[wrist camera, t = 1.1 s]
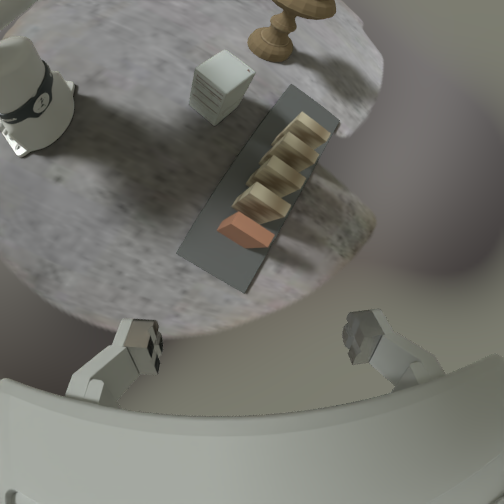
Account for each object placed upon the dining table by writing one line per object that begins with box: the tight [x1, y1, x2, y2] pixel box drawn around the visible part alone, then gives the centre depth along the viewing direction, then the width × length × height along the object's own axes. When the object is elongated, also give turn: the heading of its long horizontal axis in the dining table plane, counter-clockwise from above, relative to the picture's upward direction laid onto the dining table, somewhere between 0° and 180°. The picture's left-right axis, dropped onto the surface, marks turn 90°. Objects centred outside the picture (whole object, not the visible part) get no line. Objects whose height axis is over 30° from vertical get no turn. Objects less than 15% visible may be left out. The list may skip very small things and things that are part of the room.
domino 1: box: [271, 112, 331, 150], centre depth 46 cm, size 6×2×12 cm, turn 60°
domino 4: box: [231, 182, 291, 225], centre depth 43 cm, size 6×2×12 cm, turn 60°
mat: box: [176, 84, 340, 293], centre depth 51 cm, size 14×44×1 cm, turn 150°
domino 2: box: [259, 132, 319, 173], centre depth 45 cm, size 6×2×12 cm, turn 60°
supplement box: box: [189, 50, 256, 126], centre depth 42 cm, size 7×7×13 cm
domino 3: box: [245, 155, 306, 198], centre depth 44 cm, size 6×2×12 cm, turn 60°
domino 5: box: [217, 211, 275, 248], centre depth 43 cm, size 6×2×12 cm, turn 60°
